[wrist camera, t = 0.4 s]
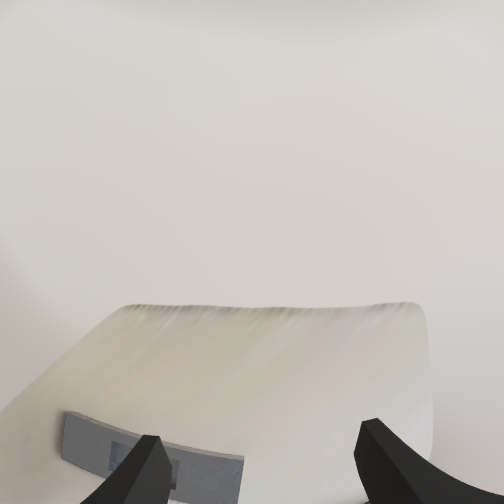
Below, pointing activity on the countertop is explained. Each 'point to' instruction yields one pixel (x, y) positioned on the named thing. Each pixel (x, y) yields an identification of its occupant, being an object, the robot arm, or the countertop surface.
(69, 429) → the rail
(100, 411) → the countertop surface
